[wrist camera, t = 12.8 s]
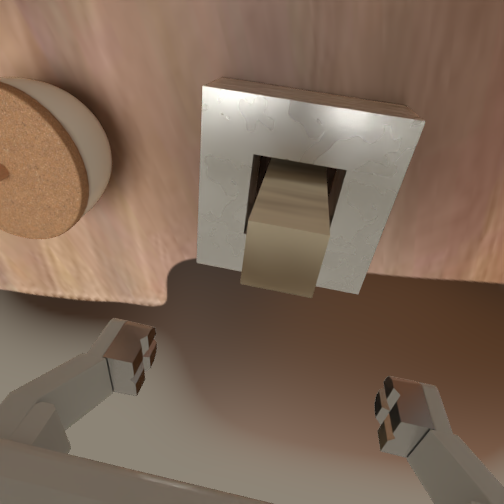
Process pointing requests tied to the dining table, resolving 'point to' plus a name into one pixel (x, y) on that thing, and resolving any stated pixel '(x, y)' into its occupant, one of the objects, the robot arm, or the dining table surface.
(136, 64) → the dining table surface
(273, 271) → the ash peg
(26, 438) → the robot arm
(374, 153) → the socket block
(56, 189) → the lidded jar
